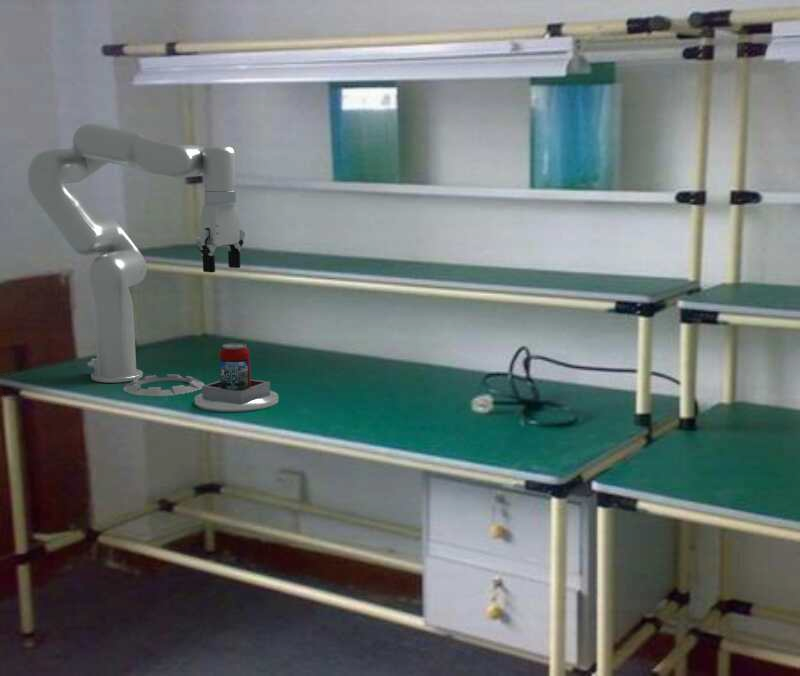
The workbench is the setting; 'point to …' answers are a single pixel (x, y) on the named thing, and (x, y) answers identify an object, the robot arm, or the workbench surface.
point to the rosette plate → (236, 397)
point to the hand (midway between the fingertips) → (222, 269)
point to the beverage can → (235, 366)
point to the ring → (156, 391)
